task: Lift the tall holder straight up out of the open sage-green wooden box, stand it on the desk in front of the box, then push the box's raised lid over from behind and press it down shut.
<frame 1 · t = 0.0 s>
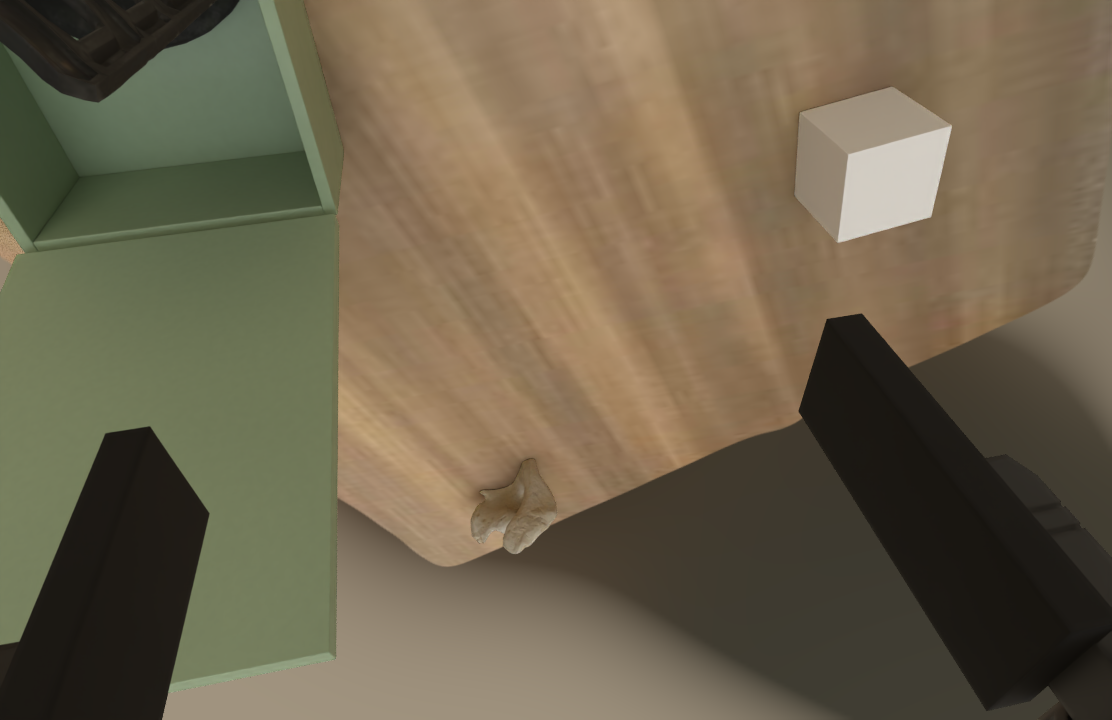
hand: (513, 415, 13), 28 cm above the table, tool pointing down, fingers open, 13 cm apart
white cube: (839, 142, 43), on the table
lid: (145, 417, 25), point 17 cm above the table, hinge at 100.0°
beige irregular piece: (513, 485, 61), on the table
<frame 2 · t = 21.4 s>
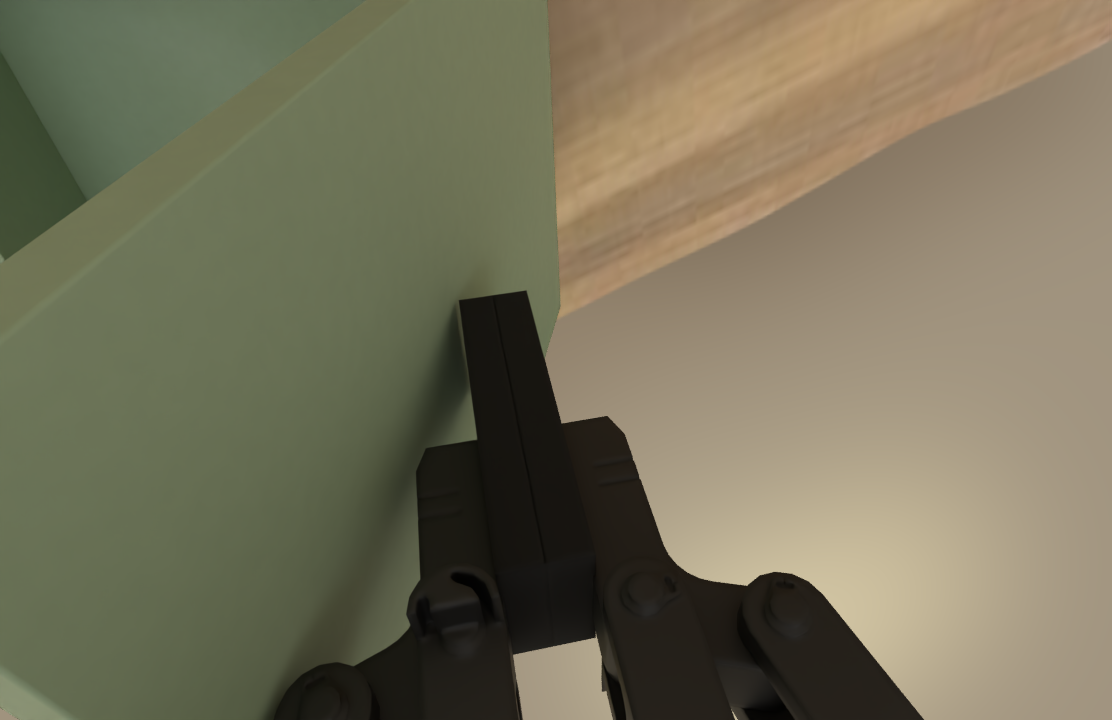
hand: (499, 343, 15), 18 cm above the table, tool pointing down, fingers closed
lid: (455, 329, 16), point 17 cm above the table, hinge at 68.5°, touching gripper
box: (281, 91, 27), on the table
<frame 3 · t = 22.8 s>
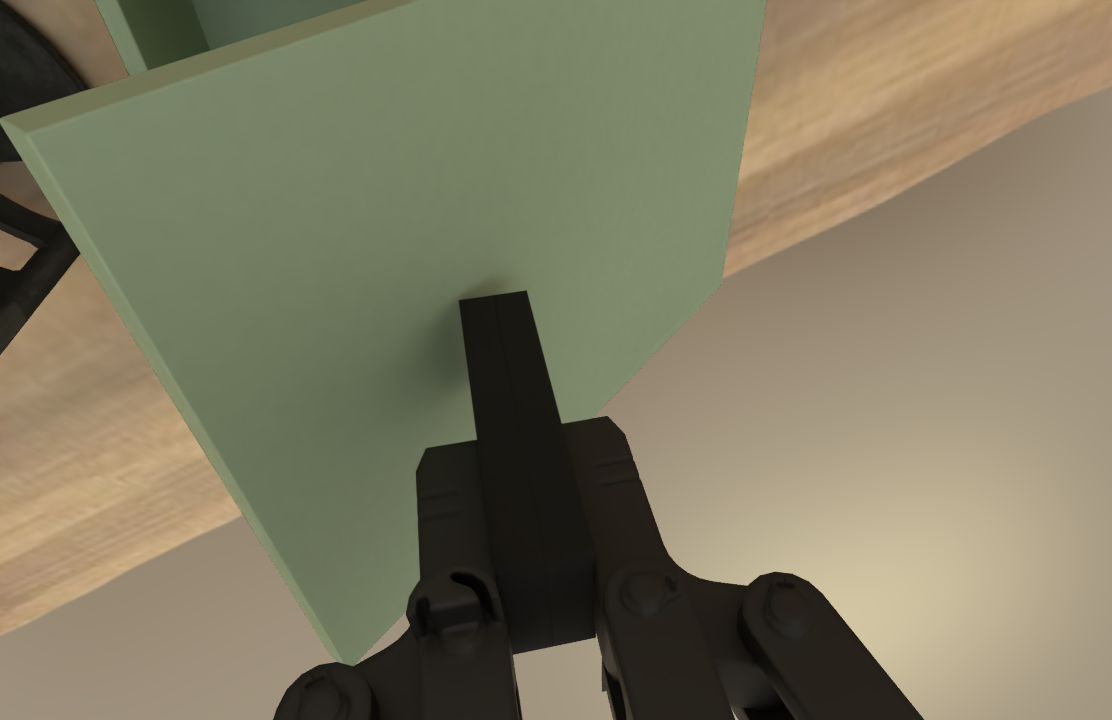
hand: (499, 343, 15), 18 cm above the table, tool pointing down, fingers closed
lid: (566, 249, 18), point 14 cm above the table, hinge at 41.7°, touching gripper
box: (452, 73, 28), on the table
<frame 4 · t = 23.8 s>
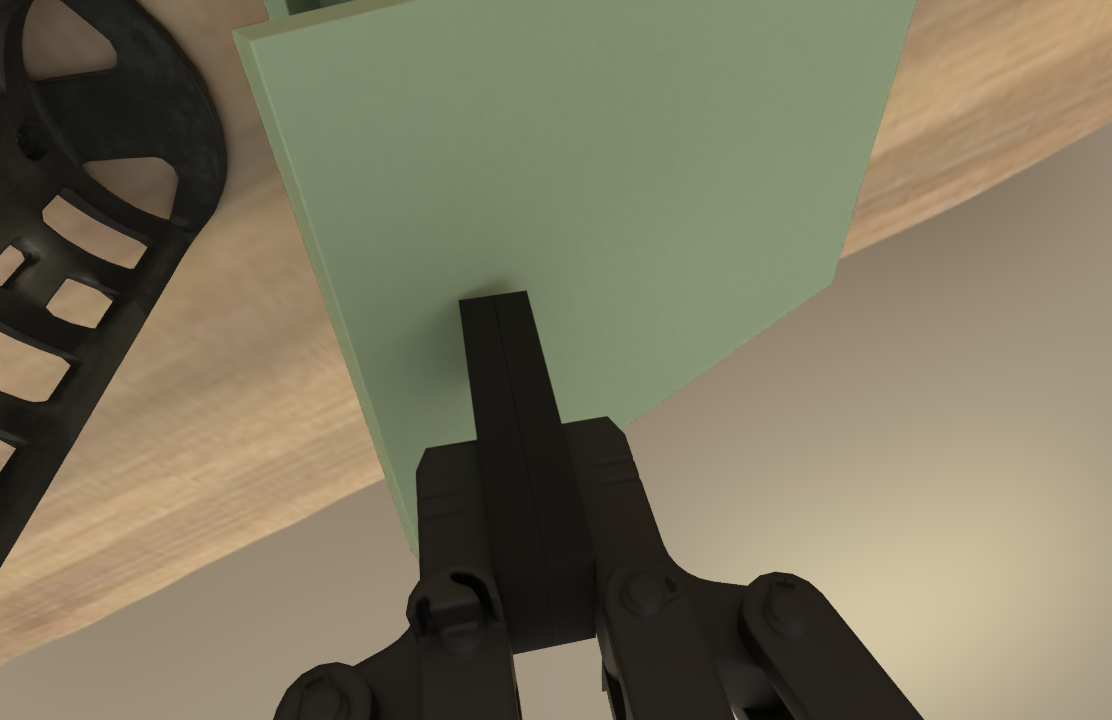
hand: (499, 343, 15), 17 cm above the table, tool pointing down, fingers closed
holder: (100, 117, 26), on the table
lid: (676, 217, 19), point 12 cm above the table, hinge at 29.2°, touching gripper
box: (563, 69, 28), on the table
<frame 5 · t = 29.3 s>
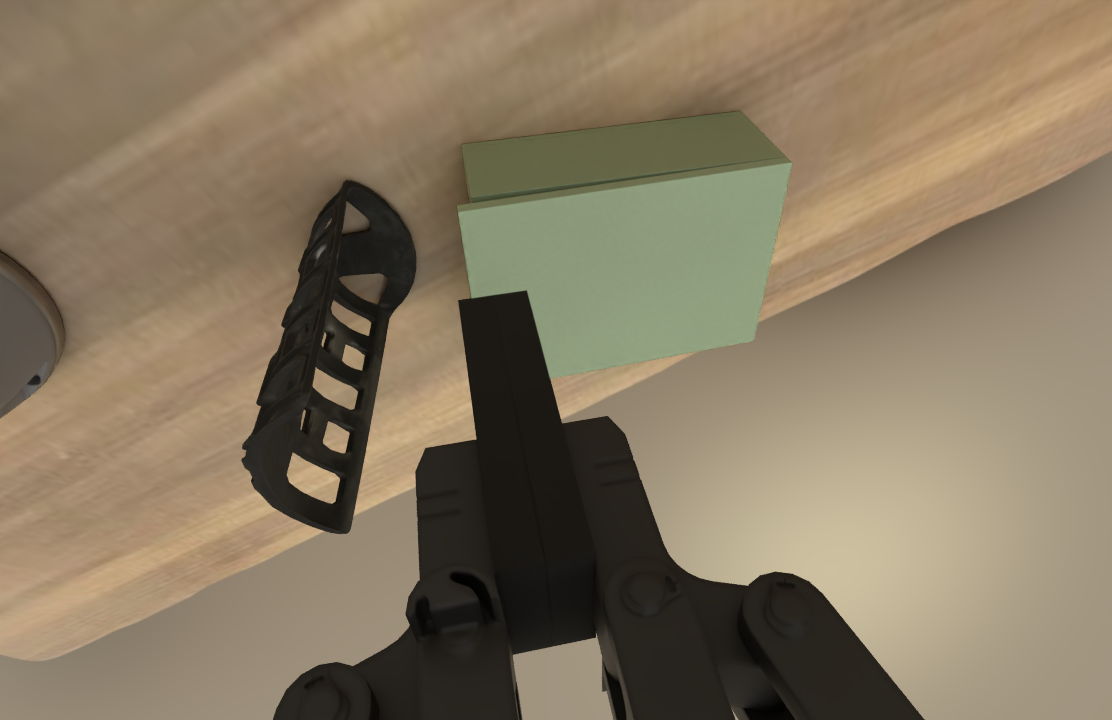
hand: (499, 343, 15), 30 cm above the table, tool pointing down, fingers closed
holder: (351, 252, 47), on the table
lid: (625, 282, 43), point 8 cm above the table, hinge at 2.0°
box: (603, 219, 49), on the table
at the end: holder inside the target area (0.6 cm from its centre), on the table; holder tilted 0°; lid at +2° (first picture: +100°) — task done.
